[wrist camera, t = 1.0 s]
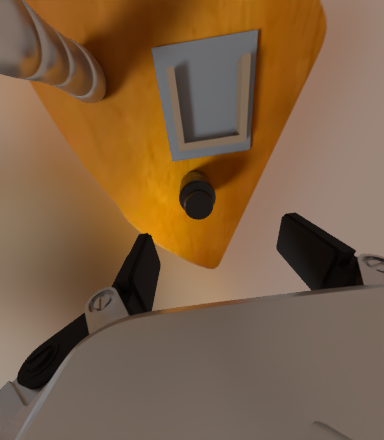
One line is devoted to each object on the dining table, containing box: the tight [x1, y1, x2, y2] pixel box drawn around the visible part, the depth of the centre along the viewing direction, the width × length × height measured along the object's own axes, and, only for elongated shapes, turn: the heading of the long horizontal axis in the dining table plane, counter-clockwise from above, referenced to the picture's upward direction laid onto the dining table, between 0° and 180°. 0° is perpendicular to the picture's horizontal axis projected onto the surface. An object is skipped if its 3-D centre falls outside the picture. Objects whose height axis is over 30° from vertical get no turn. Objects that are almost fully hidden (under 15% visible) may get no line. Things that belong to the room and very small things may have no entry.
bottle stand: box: [151, 30, 258, 161], centre depth 25 cm, size 16×16×4 cm
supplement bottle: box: [179, 171, 216, 220], centre depth 28 cm, size 7×7×12 cm
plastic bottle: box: [0, 0, 106, 103], centre depth 15 cm, size 6×7×20 cm
